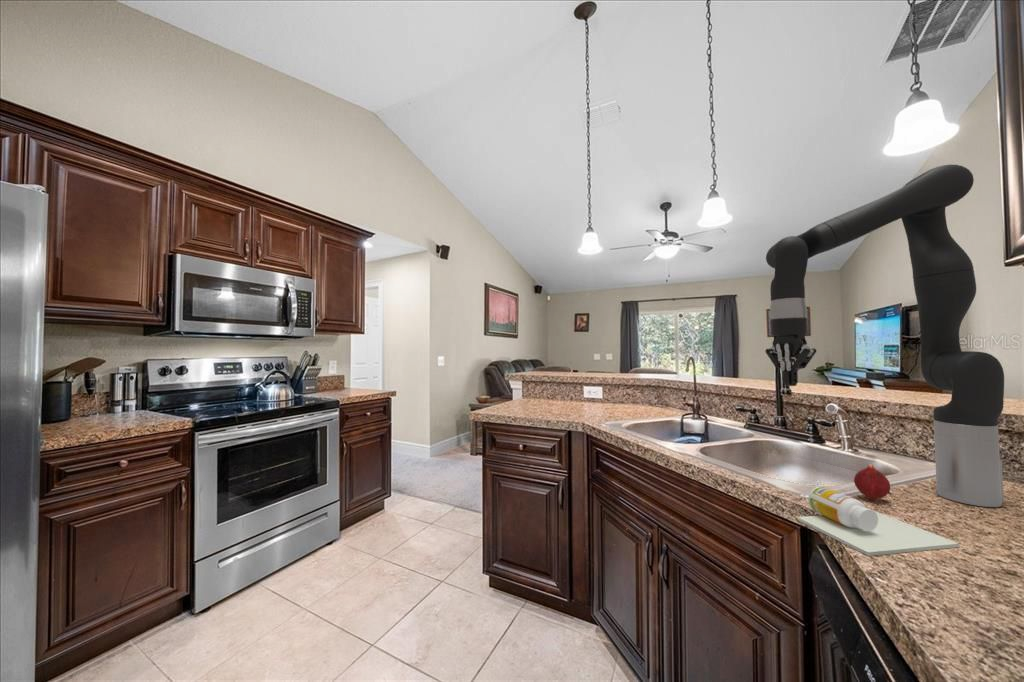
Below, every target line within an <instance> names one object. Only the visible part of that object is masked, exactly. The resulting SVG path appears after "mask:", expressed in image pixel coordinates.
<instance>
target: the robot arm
mask: <svg viewBox="0 0 1024 682" xmlns="http://www.w3.org/2000/svg"><path fill="white" fill-rule="evenodd" d="M974 181H975V180H974V174H973V173H972V171H971V170H970V169H969V168H967V167H966V166H963V165H959V164H944V165H943V164H942V165H939V166H936V167H933V168H931V169H928V170H927V171H925V172H923V173H921V174H920V175H918V176H916V177H914V178H913V179H912V180H910V181H907V182H906V183H905V184H904V185H903V187H901V188H899V189H897V190H895V191H893V192H891V193H889V194H886V195H884V196H882V197H880V198H878V199H875V200H872V201H871V202H869V203H866V204H864V205H862V206H859V207H855V208H853V209H851V210H848V211H847V212H844V213H842V214H840V215H837V216H834V217H833V218H829V219H828V220H826V221H823V222H821V223H818V224H817V225H814V226H813V227H811V228H809V229H808V230H806V231H805V232H803V233H801V234H798V235H796V236H795V235H791V236H790V235H789V236H786V237H783V238H781V239H780V240H778V242H776V243H775V244H773V245H772V246H771V247H770V248H769V249H768V250H767V253H766V256H765V261H766V263H767V264H768V266H769V267H771V268H772V269H774V276H773V279H772V280H771V283H770V306H769V321H770V322H769V325H770V329H769V330H770V336H772V337H773V341H772V346H771V347H770V348H766V349H765V351H764V352H765V354H766V355H767V356H768V358H769V360H770V361H771V363H772V364H773V367H775V368H776V369H780V370H781V371H782V382H783V384H784V386H787V387H797V385H798V381H799V378H798V376H799V374H798V372H799V370H802V369H805V368H807V366H808V364H809V363H810V361H811V360H812V359H813V358H814V356H815V355H816V353H817V349H816V348H815V347H814V348H813V347H810V346H809V345H807V344H808V341H807V340H806V336H807V335H808V310H807V308H808V307H807V303H806V294H805V293H806V290H805V286H806V285H805V277H806V274H807V267H808V262H809V261H808V260H809V259H810V258H813V257H814V256H817V255H819V254H822V253H825V252H828V251H832V250H833V249H836V248H838V247H841V246H843V245H846V244H848V243H850V242H853V241H855V240H857V239H859V238H862V237H864V236H865V235H867V234H870V233H871V232H873V231H876V230H878V229H880V228H883V227H884V226H886V225H888V224H891V223H893V222H896V221H897V220H900V219H901V221H902V224H903V225H902V226H903V228H904V230H905V235H906V238H907V243H908V252H909V258H910V264H911V269H912V270H911V271H912V279H913V282H912V283H913V288H914V289H913V290H914V294H915V297H916V304H917V312H918V319H919V320H918V321H919V329H920V369H921V374H922V376H923V379H924V381H925V382H926V383H927V384H928V385H929V386H931V387H932V388H934V389H938V390H943V391H949V392H951V400H950V401H949V402H948V403H946V404H944V405H939V406H936V407H935V408H933V411H932V412H933V413H932V415H933V417H932V418H933V434H934V455H935V457H934V458H935V459H934V460H935V482H936V483H935V484H936V494H937V495H938V496H940V497H942V498H944V499H947V500H950V501H953V502H957V503H962V504H966V505H969V506H970V505H971V506H977V507H984V508H986V507H987V508H999V507H1002V505H1003V504H1004V502H1005V498H1004V497H1005V496H1004V495H1005V494H1004V479H1003V477H1004V473H1003V460H1002V459H1001V456H1000V455H1001V454H1000V439H999V438H1000V437H999V418H1000V416H1001V415H1002V413H1003V409H1004V405H1005V404H1004V403H1005V398H1004V397H1005V396H1004V394H1005V373H1004V368H1003V366H1002V364H1001V362H1000V361H999V359H998V358H997V357H995V356H994V355H993V354H991V353H988V352H985V351H984V352H983V351H971V350H970V351H967V350H964V351H962V347H961V340H960V329H961V325H962V322H963V321H964V319H965V317H966V315H967V313H968V311H969V309H970V308H971V306H972V303H973V302H974V299H975V296H976V294H977V282H976V276H975V271H974V264H973V262H972V260H971V257H970V256H969V254H967V252H966V251H965V250H964V249H963V248H962V247H961V246H960V244H958V243H957V242H956V240H955V239H954V238H953V237H952V236H951V235H952V234H951V233H950V231H949V229H948V224H947V217H946V216H947V215H946V208H947V207H950V206H951V205H954V204H955V203H957V202H958V201H960V200H961V199H963V198H964V197H965V196H967V194H969V192H970V191H971V189H972V187H973V186H974Z"/></svg>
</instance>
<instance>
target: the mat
mask: <svg viewBox="0 0 1024 682" xmlns="http://www.w3.org/2000/svg"><path fill="white" fill-rule="evenodd" d="M873 511H874V512H875V513H876V514H877V516H878V524H877V526H876V528H875V529H874V530H872V531H864V530H862V529H859V528H850V527H847V526H844V525H842V524H840V523H838V522H836V521H834V520H832V519H830V518H828V517H826V516H823V515H821V514H820V515H810V516H798V517H797V521H799V522H800V523H802V524H804V525H806V526H808V527H809V528H812V529H814V530H816V531H818V532H820V533H822V534H824V535H825V536H828V537H830V538H832V539H833V540H836V541H838V542H840V543H841V544H843V545H845V546H848V547H849V548H851V549H853V550H855V551H858V552H859V553H861V554H864V555H865V556H868V557H872V556H881V555H891V554H901V553H912V552H913V553H915V552H923V551H924V552H925V551H934V550H935V551H936V550H942V549H943V550H944V549H951V548H952V549H955V548H959V547H960V544H959V543H958V542H957V541H953V540H951V539H947V538H945V537H942V536H940V535H938V534H935V533H933V532H930V531H927V530H925V529H922V528H920V527H918V526H915V525H912V524H909V523H907V522H905V521H901V520H899V519H896V518H895V517H892V516H889V515H887V514H883V513H881V512H878V511H876V510H873Z"/></svg>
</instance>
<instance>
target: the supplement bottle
mask: <svg viewBox="0 0 1024 682" xmlns="http://www.w3.org/2000/svg"><path fill="white" fill-rule="evenodd" d="M807 499H808V500H807V502H808V505H809V507H810V509H811V510H812V511H814V512H816V513H818V514H820V515H823V516H826V517H828V518H830V519H832V520H834V521H836V522H838V523H840V524H842V525H844V526H847V527H850V528H859V529H862V530H864V531H872V530H874V529H875V528H876V526H877V524H878V516H877V514H876V513H875V512H874V511H875V510H873V509H870V508H868V507H867V506H865V505H864V503H862V502H861V501H860V500H858V499H856V498H853V497H851V496H848V495H845V494H843V493H840V492H838V491H835V490H832V489H830V488H827V487H824V486H816V487H814V488H812V489H811V490H810V492H809V494H808V497H807Z"/></svg>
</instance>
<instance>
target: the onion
mask: <svg viewBox="0 0 1024 682" xmlns="http://www.w3.org/2000/svg"><path fill="white" fill-rule="evenodd" d="M853 482H854V485H855V487H856V489H857V490H858V492H860V493H861V494H862V495H863V496H864V497H866V498H867V499H868V500H870V501H877V500H878V499H882V498H884V497H887V495H888V494H889V493H890V490H891V483H890V481H889V478H887V476H886V475H885V474H884V473H883V472H881V471H880V470H878V469H876V468H875V466H874V465H873V464H872V463H869V464H868V465H867V467H866V468H862V469H861V470H859V471H858V472H856V474H855V475H854V479H853Z"/></svg>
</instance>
